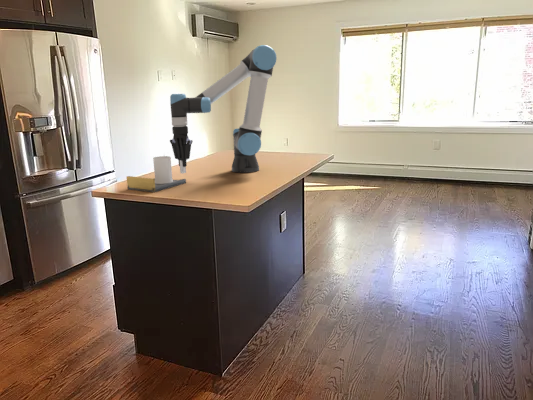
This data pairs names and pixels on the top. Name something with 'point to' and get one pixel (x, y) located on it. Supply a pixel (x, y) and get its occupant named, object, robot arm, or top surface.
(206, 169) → the top surface
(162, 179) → the mug
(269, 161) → the top surface
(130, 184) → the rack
